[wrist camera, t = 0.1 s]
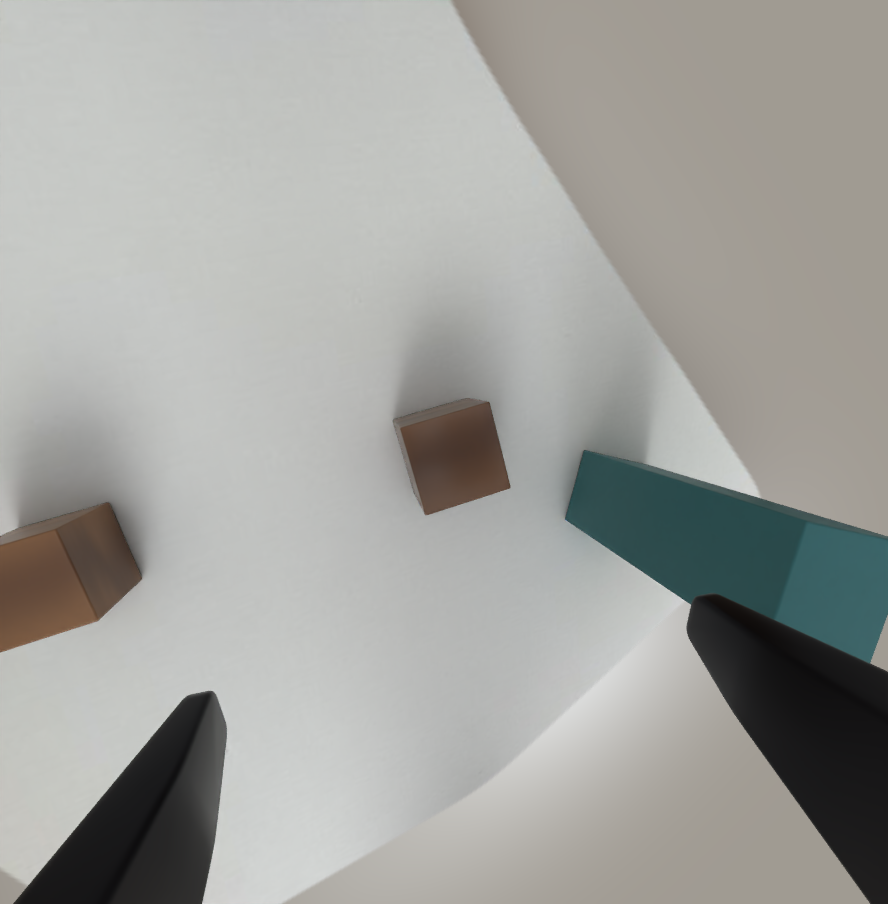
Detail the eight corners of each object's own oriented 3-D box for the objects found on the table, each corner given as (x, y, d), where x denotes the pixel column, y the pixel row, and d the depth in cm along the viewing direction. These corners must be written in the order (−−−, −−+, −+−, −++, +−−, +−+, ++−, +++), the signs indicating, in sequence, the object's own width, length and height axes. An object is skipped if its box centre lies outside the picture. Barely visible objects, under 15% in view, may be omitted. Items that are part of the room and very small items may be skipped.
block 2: (486, 470, 25) (511, 488, 21) (414, 493, 24) (425, 515, 20) (467, 397, 24) (489, 401, 20) (392, 419, 23) (399, 427, 19)
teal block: (627, 531, 27) (869, 669, 14) (564, 519, 26) (762, 654, 13) (646, 464, 26) (915, 544, 14) (583, 449, 25) (807, 521, 13)
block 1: (143, 578, 22) (98, 621, 18) (54, 606, 22) (-11, 656, 18) (109, 501, 22) (55, 528, 18) (16, 528, 21) (-61, 562, 17)
